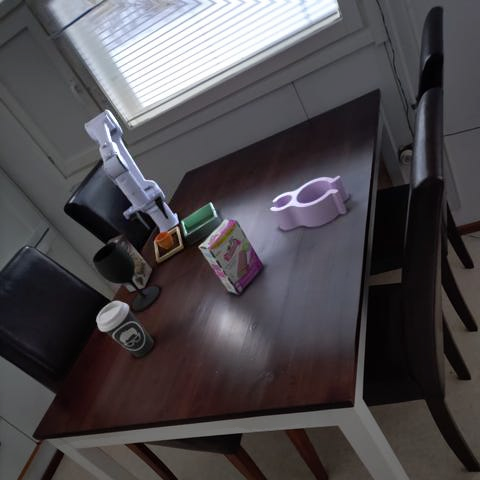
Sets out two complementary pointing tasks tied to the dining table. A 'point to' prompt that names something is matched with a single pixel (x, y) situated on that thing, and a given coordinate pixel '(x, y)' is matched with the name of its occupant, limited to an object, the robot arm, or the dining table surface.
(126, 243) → the coffee box
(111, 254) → the wine glass
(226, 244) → the candy bar box
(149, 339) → the coffee cup
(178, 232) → the tray
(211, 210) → the basin
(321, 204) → the clip
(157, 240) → the bowl
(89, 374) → the dining table surface
